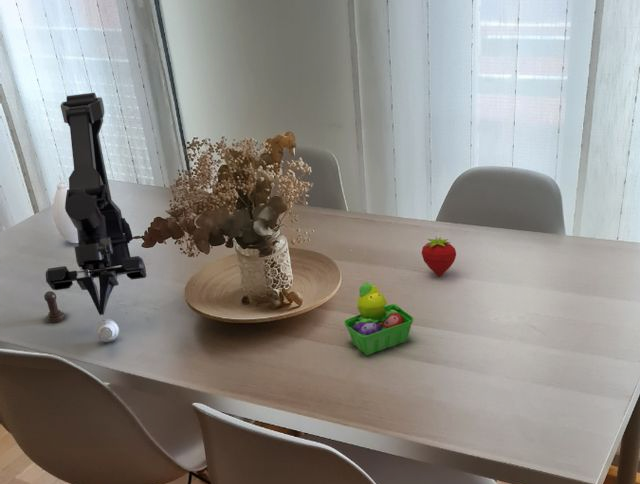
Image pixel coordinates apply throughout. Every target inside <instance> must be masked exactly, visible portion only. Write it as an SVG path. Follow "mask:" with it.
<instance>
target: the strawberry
mask: <svg viewBox="0 0 640 484" xmlns="http://www.w3.org/2000/svg"><path fill="white" fill-rule="evenodd" d="M427 240H428V241H429V242H427V243H426V244H424V246H422V248H421V256H422V259H423V261H424V263H425V264H426V266H427V267H428V268H429V270H431V271H432V272H433V273H434V275H435V276H437V277H441V276H443V275H444V274H445V273H446V272H447V271H448V270H449V269H450V268H451V267H452V265H453V264H454V263H455V260H456V257H457V251H456V247H454V246H453V245H452V244H451V242H450V241H448V240H449V239H446V238H445V239H442V236H440V237H439V238H437V237H435V239H432V238H427Z"/></svg>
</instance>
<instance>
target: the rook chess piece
mask: <svg viewBox="0 0 640 484" xmlns="http://www.w3.org/2000/svg"><path fill="white" fill-rule="evenodd" d="M95 332H96V336H97V338H98V339H99V340H100V341H102V342H105V343H108V342H112V341H114V340H115V339H117V338H118V336H119V335H120V334H119V333H120V328H119V325H118V324H117V322H115V321H114V320H112V319H109V318H108V319H107V318H106V319H102V320H101V321H100V322H98V324H97V325H96V329H95Z"/></svg>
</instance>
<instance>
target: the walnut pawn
mask: <svg viewBox="0 0 640 484" xmlns="http://www.w3.org/2000/svg"><path fill="white" fill-rule="evenodd" d="M43 298H44V301H45V302H46V303H47V308H48V310H49V311H48V314H47V316H46V318H47V321H48V322H49V323H50V324H56V323H60V322H62V321H63V320H65V314H64V312H63V311H61V309H59V307H58V303H57V294H56V293H55V292H54V291H51V290H49V291H46V292H45V294H44V295H43Z"/></svg>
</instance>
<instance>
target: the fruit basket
mask: <svg viewBox="0 0 640 484" xmlns="http://www.w3.org/2000/svg"><path fill="white" fill-rule="evenodd" d="M387 303H388V302H387V299H386V297H385V296H384V295H383V294H382V293H381V292H380V290H379V288H378V287H377V286H376V285H374V284H371V283H369V282H364V284H361V285H360V287H359V295H358V298H357V305H356V306H357V310H358V313H359V314H357V315H355V316H352V317H350V318H346V319H345V320H343V323H344V326H345V327H346V328H347V330H348V334H349V337H350V339H351V342H352V344H353V345H354V346H355V347H356V348H357V349H358V350H359V351H361V352H362V353H364V355H365V356H370V355H372V354H374V353H376V352H380V351H383V350H386V349H387V348H393V347H394V346H397V345H399V344H403V343H406V342H407V341H408V338H409V333H410V330H411V327H412V325H413V322H414V317H413V316H412V315H411V314H409V313H408V312H407V311H405V310H404V309H402V308H401V307H400V306H399V305H397V304H395V303H392V304H391V303H390V304H387Z"/></svg>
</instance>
